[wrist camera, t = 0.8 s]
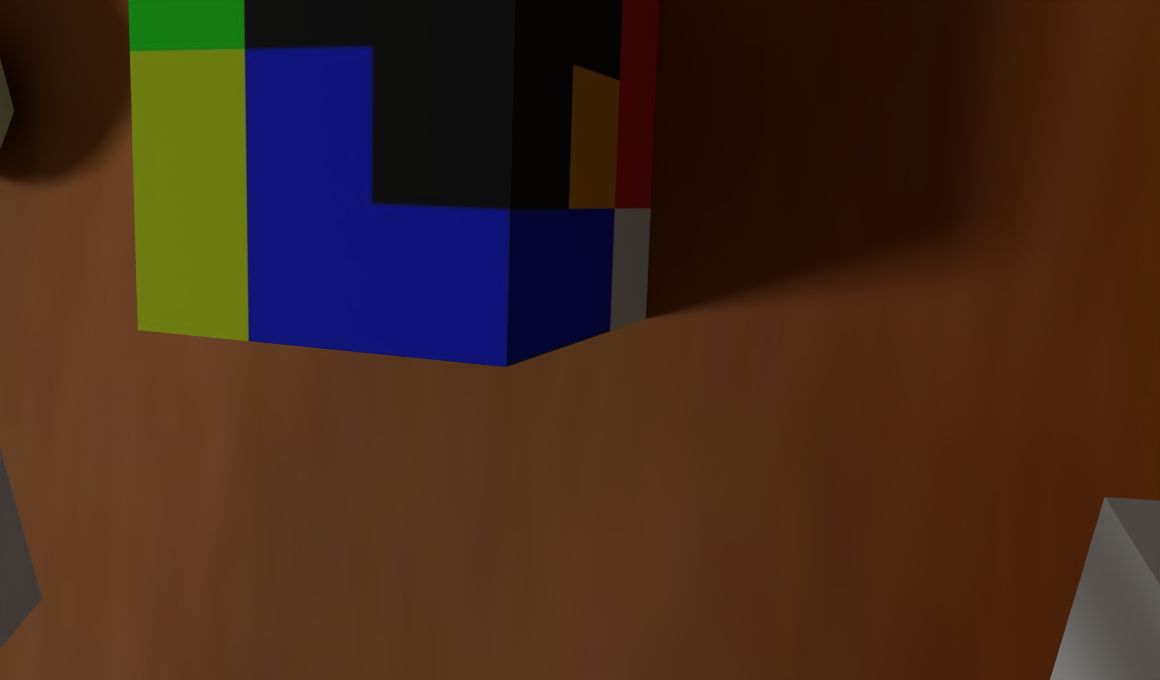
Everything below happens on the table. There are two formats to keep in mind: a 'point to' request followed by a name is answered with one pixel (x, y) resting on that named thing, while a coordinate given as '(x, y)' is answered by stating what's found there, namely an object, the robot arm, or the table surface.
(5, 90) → the geometric ball
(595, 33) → the puzzle toy
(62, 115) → the table surface
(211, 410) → the table surface
